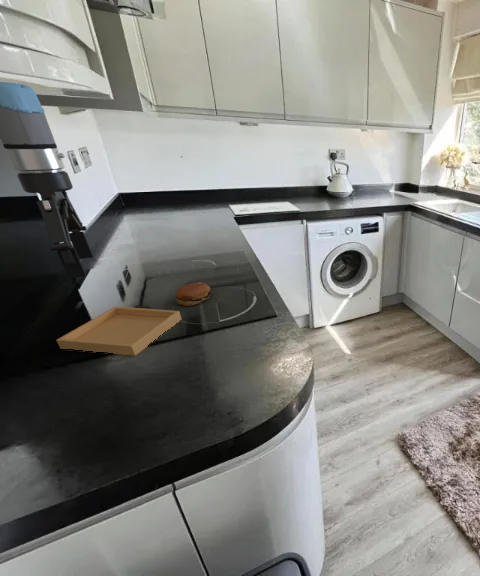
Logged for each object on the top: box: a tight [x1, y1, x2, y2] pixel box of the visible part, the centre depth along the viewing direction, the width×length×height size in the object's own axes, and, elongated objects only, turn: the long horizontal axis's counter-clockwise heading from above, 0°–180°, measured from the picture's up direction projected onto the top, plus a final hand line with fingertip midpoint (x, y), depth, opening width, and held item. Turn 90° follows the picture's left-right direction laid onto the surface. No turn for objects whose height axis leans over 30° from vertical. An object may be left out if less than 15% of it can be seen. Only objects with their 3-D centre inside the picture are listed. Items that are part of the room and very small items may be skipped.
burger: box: [175, 281, 213, 307], centre depth 101 cm, size 10×9×5 cm
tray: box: [56, 306, 182, 357], centre depth 84 cm, size 20×17×3 cm
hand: (82, 266), depth 76 cm, fingers open, 13 cm apart
